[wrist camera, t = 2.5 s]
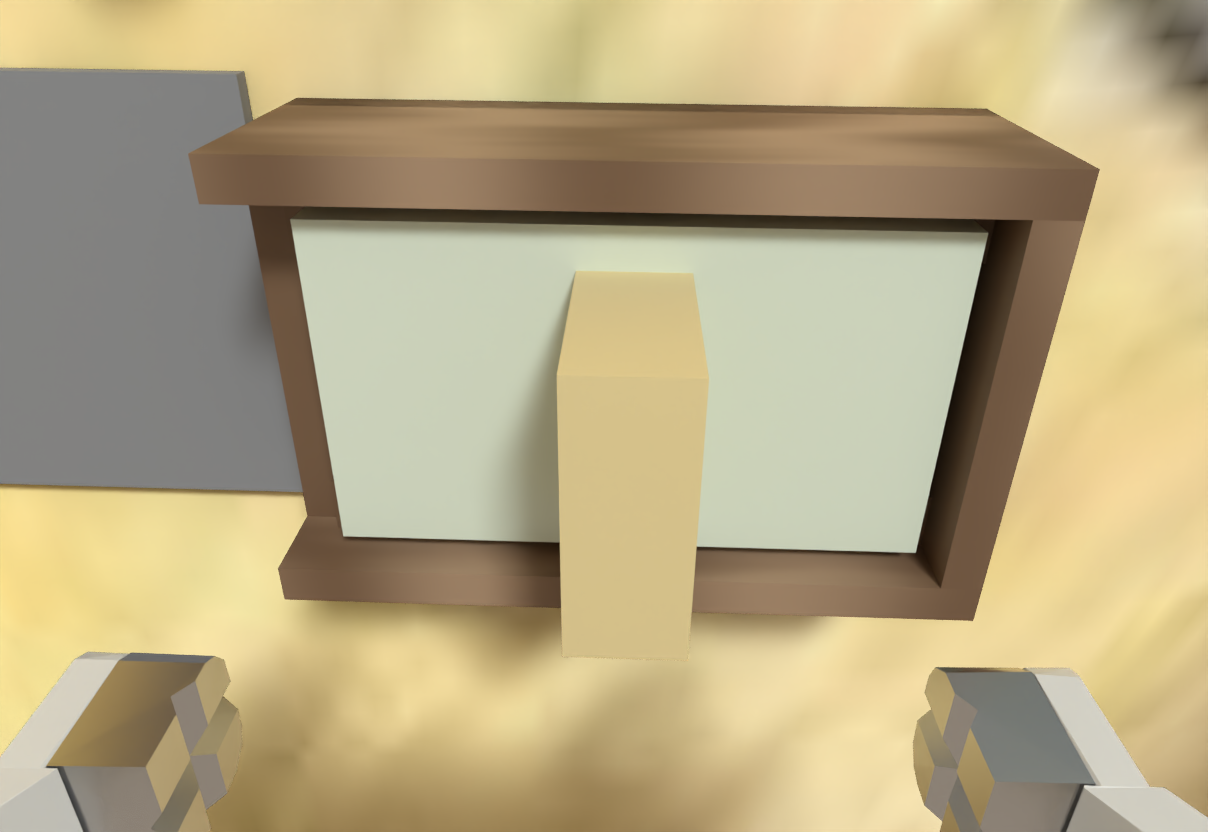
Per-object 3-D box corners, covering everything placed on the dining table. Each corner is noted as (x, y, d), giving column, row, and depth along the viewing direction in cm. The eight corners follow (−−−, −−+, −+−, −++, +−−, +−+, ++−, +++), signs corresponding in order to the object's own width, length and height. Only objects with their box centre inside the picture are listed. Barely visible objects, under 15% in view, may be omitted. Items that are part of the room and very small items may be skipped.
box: (986, 108, 18) (1099, 169, 13) (907, 483, 22) (973, 620, 18) (296, 98, 18) (188, 153, 14) (353, 468, 22) (284, 599, 18)
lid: (972, 218, 15) (1098, 330, 11) (905, 528, 18) (983, 707, 14) (306, 205, 16) (182, 310, 11) (354, 513, 19) (272, 682, 15)
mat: (243, 71, 18) (236, 74, 18) (317, 483, 23) (312, 491, 22) (-378, 62, 18) (-398, 65, 18) (-174, 470, 23) (-187, 478, 23)
